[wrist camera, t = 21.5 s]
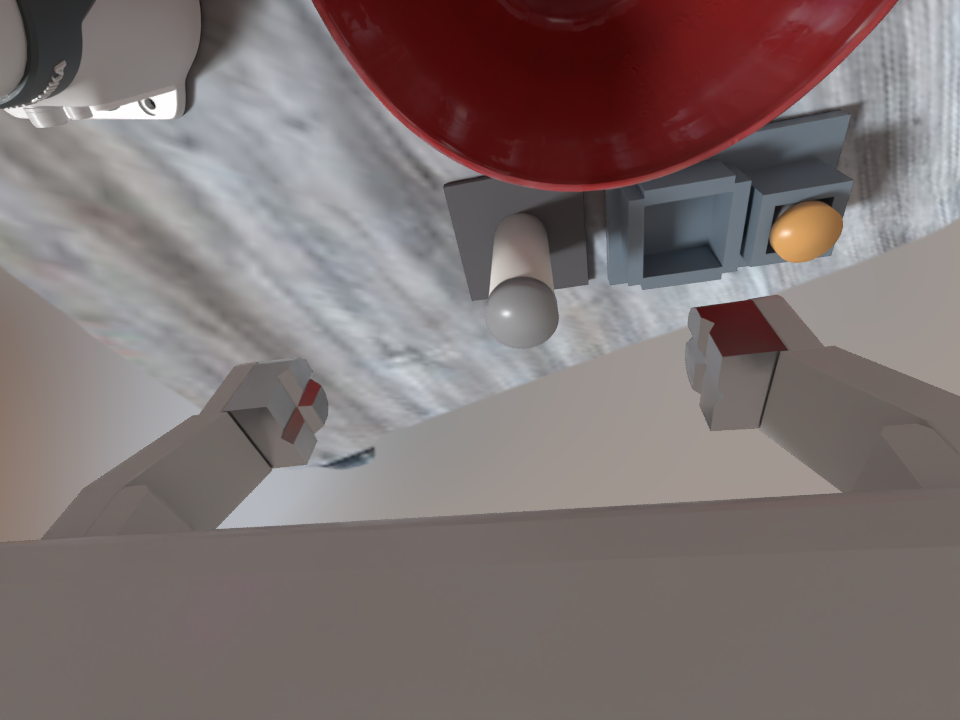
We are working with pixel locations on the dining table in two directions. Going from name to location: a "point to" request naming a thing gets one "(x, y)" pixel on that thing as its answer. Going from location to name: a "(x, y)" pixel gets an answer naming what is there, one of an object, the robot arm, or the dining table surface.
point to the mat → (493, 200)
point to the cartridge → (521, 284)
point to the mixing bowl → (592, 77)
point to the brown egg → (804, 230)
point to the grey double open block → (724, 204)
